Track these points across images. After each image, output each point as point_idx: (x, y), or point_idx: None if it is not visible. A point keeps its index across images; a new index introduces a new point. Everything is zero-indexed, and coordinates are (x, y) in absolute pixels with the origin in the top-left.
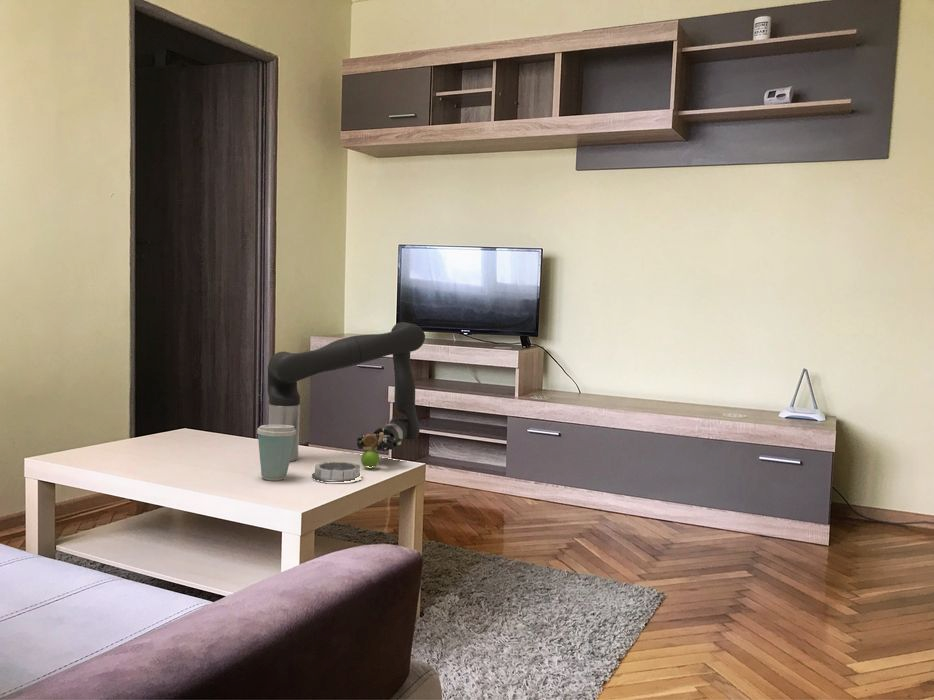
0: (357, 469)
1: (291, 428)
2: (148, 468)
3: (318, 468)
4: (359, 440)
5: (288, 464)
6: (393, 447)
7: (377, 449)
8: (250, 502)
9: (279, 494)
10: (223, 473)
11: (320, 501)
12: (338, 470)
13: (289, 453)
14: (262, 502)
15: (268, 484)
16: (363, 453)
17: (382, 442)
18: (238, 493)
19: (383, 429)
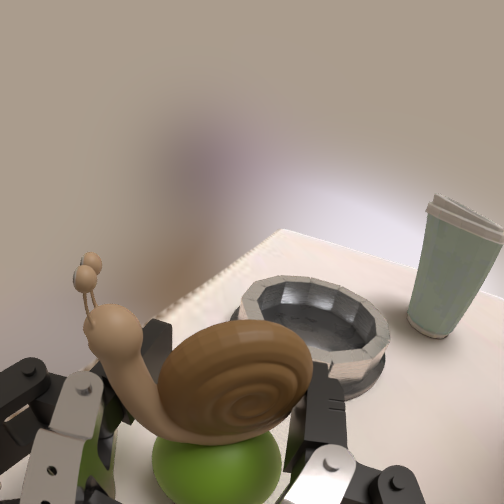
0: (246, 292)
1: (435, 197)
2: None
3: (354, 294)
4: (372, 469)
5: (419, 294)
6: (29, 408)
7: (169, 352)
8: (355, 250)
9: (347, 265)
10: (497, 333)
11: (275, 244)
12: (296, 281)
13: (423, 263)
14: (343, 249)
15: (401, 297)
16: (271, 438)
17: None
18: (395, 270)
19: (93, 253)
